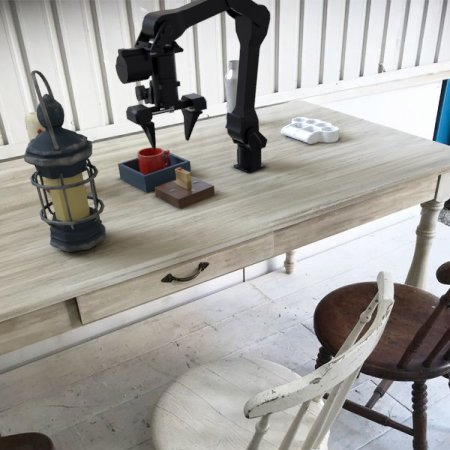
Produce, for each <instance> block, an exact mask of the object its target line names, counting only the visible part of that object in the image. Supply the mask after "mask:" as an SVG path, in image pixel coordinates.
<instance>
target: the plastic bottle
mask: <svg viewBox="0 0 450 450" xmlns="http://www.w3.org/2000/svg"><path fill="white" fill-rule="evenodd" d="M227 63H228V66H227V68H228V70H227V72H226V73H225V75H224V79H223V80H224V86H225V93H226V112H225V121H226V123H227V113H228V112H229V113H232V111H233V109H234V108H235V105H236V94H237V81H238V67H239V59H231V60H229V61H228V62H227Z"/></svg>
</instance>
